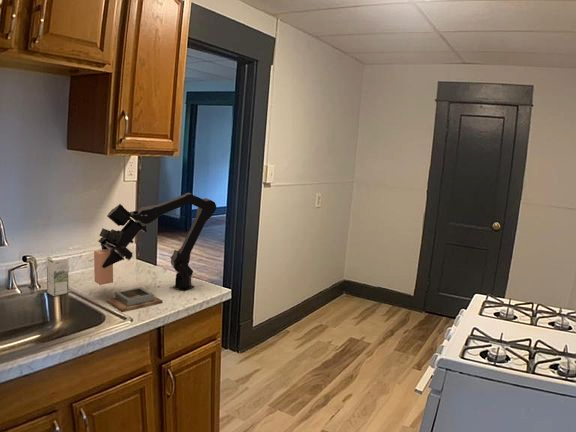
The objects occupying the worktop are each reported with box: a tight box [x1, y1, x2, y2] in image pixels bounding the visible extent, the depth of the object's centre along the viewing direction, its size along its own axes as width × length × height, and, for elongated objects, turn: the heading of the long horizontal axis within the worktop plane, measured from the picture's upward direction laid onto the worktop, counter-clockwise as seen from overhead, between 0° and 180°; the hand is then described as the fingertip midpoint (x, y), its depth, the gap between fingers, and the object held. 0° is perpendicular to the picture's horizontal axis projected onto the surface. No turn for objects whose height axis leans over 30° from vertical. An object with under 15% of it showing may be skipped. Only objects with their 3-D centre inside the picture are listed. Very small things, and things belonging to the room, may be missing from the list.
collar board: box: [105, 287, 163, 313], centre depth 174 cm, size 16×13×4 cm
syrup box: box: [46, 254, 70, 297], centre depth 177 cm, size 6×6×14 cm
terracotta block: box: [93, 249, 114, 286], centre depth 175 cm, size 5×5×12 cm
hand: (99, 265), depth 174 cm, fingers closed on terracotta block, 5 cm apart
